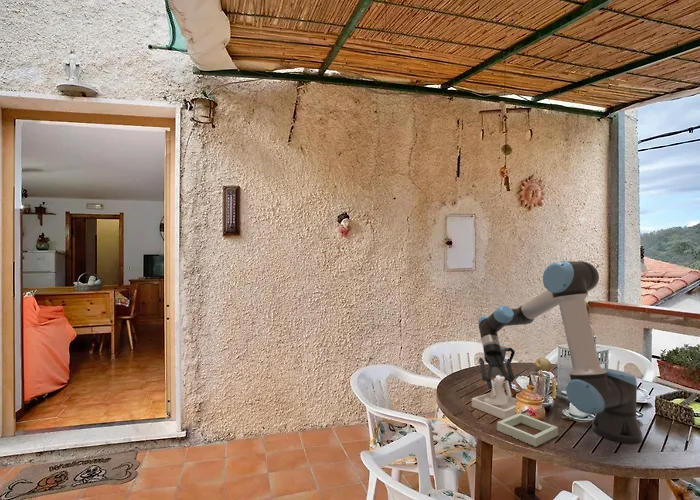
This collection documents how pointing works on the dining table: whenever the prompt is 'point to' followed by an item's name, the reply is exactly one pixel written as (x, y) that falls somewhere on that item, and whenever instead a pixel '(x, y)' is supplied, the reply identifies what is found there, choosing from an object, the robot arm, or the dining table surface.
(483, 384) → the dining table surface
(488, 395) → the tray
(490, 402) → the sitting furry creature
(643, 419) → the dining table surface
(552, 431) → the holder
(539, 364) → the fruit
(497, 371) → the coffeepot
